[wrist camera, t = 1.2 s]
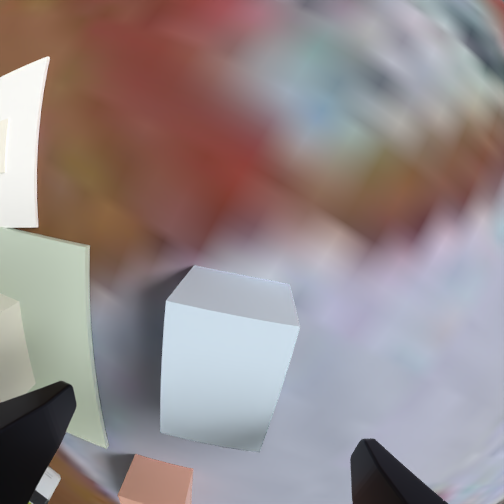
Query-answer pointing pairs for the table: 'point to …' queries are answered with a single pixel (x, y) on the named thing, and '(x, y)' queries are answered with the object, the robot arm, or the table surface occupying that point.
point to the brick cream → (13, 352)
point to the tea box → (45, 487)
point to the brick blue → (225, 357)
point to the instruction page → (20, 143)
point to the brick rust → (156, 483)
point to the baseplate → (55, 318)
